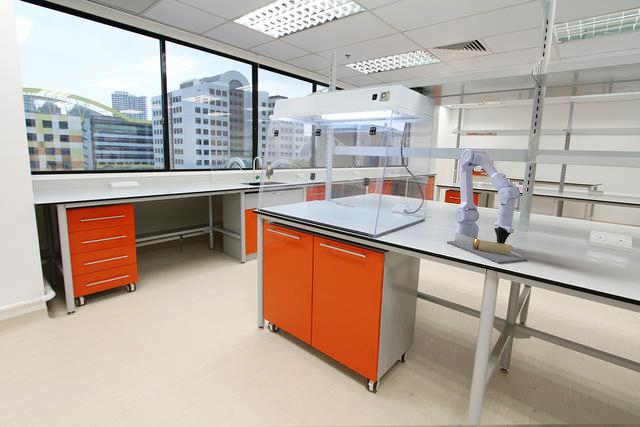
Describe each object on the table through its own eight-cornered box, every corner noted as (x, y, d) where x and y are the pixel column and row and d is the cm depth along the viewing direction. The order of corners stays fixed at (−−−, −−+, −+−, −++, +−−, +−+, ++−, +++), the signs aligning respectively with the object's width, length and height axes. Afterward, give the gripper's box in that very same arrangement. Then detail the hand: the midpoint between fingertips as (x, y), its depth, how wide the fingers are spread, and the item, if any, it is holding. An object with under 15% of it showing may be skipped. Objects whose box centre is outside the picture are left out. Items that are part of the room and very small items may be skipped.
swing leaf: (473, 247, 139) (475, 238, 138) (510, 254, 132) (511, 244, 132) (473, 248, 138) (474, 239, 137) (510, 255, 131) (511, 245, 130)
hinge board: (473, 241, 154) (473, 239, 154) (527, 260, 129) (527, 258, 128) (446, 243, 149) (447, 241, 149) (498, 263, 123) (498, 261, 123)
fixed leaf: (456, 241, 149) (457, 232, 148) (474, 248, 139) (475, 238, 139) (454, 241, 149) (455, 232, 148) (472, 248, 139) (474, 238, 138)
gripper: (488, 210, 143) (484, 239, 145) (503, 216, 129) (498, 248, 131) (505, 211, 142) (500, 241, 145) (521, 218, 128) (515, 250, 130)
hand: (500, 244), depth 138 cm, fingers closed
